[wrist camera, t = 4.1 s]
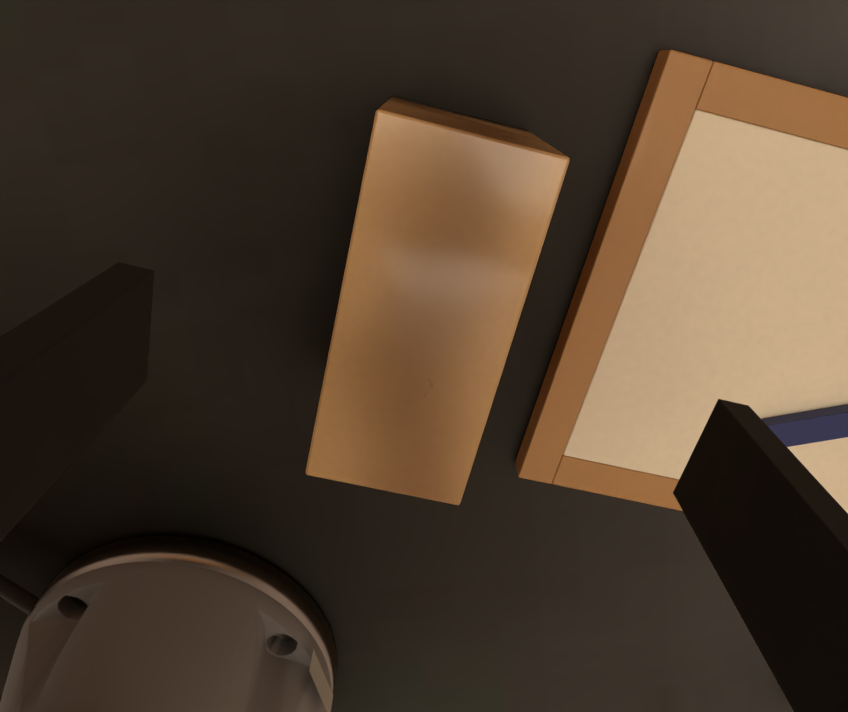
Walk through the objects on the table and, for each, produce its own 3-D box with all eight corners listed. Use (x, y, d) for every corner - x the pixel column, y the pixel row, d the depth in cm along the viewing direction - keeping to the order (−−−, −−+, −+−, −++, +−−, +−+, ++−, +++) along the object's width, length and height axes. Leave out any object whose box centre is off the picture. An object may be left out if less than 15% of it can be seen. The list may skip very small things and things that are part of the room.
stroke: (760, 443, 27) (767, 450, 26) (760, 418, 26) (767, 425, 26) (870, 425, 27) (880, 432, 26) (873, 399, 26) (882, 406, 26)
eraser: (335, 371, 27) (304, 475, 20) (391, 95, 23) (376, 108, 16) (452, 397, 28) (459, 506, 21) (529, 130, 23) (571, 157, 16)
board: (514, 462, 29) (518, 477, 28) (658, 49, 22) (671, 49, 21) (922, 547, 31) (941, 565, 29) (1172, 189, 24) (1208, 195, 23)
